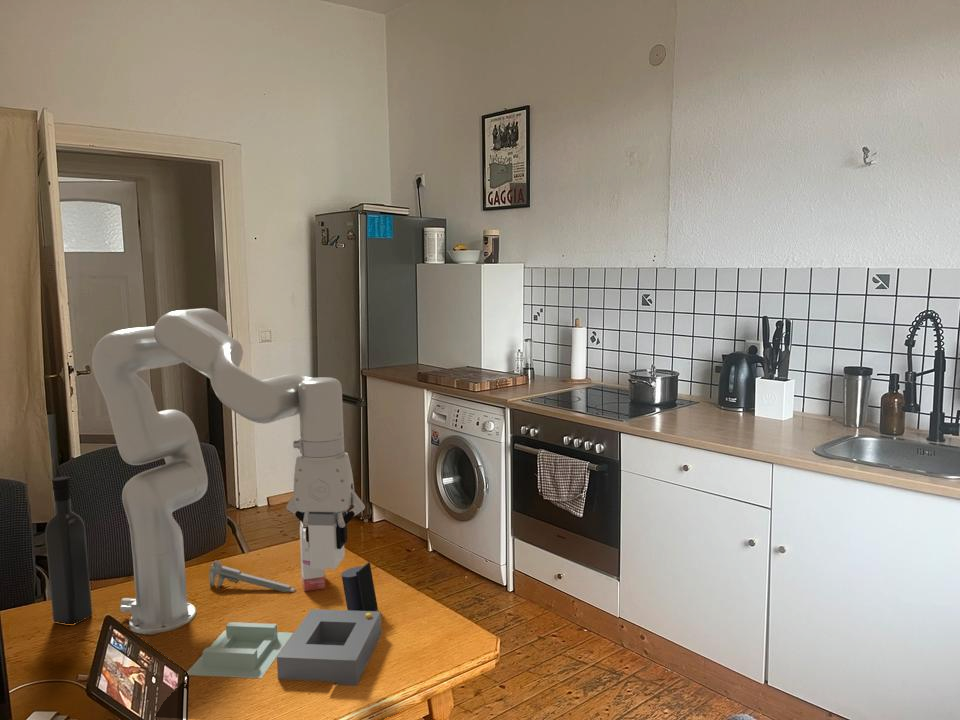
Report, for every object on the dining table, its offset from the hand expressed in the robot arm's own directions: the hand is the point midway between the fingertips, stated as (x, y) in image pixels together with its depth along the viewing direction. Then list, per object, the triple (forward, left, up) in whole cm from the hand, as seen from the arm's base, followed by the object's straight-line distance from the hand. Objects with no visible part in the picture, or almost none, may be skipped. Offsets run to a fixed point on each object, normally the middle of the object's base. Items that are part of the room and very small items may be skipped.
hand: (327, 544), depth 134 cm
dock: (0, 0, -21) cm, 21 cm away
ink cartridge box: (-14, +31, -22) cm, 40 cm away
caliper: (-27, +27, -22) cm, 44 cm away
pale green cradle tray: (-17, -1, -21) cm, 27 cm away
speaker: (0, +18, -22) cm, 28 cm away
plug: (0, 0, -3) cm, 3 cm away
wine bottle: (-58, +10, -22) cm, 63 cm away
